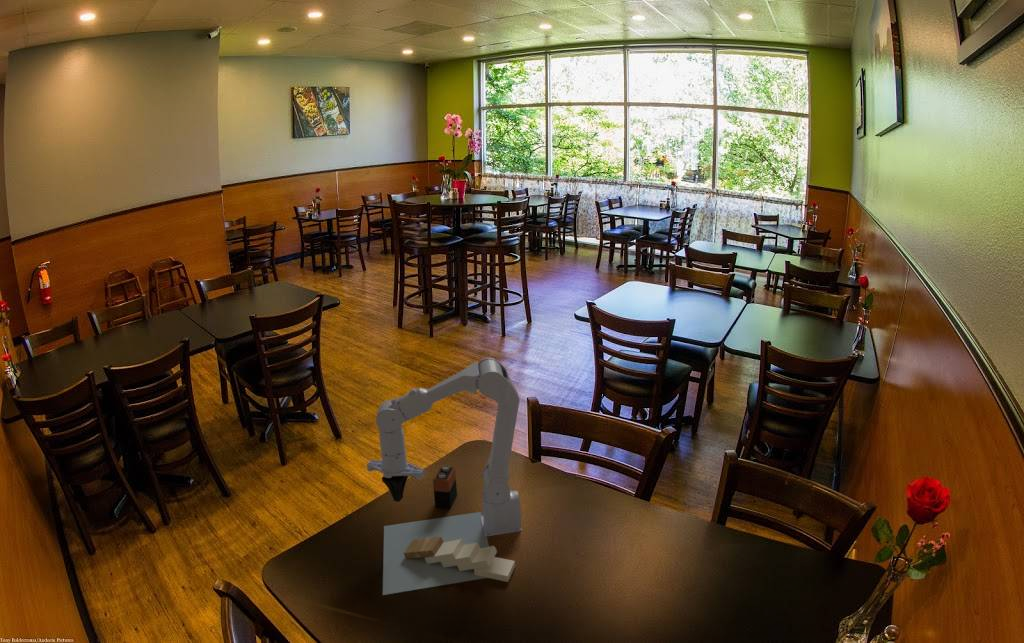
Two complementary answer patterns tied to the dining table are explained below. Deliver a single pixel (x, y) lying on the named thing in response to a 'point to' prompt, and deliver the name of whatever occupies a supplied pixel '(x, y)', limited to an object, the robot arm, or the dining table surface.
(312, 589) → the dining table surface
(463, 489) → the dining table surface
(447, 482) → the battery
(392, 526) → the mat
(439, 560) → the domino
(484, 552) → the domino
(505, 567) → the domino
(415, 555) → the oak domino
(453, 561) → the domino
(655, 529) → the dining table surface
